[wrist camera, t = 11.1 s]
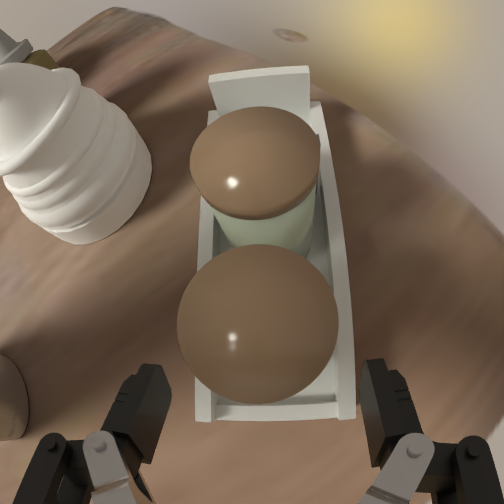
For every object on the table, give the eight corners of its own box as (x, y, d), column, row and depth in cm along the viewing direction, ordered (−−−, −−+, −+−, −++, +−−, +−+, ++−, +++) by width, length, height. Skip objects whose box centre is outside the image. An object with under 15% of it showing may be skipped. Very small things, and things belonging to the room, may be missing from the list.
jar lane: (347, 411, 19) (370, 431, 12) (209, 414, 20) (171, 433, 13) (319, 125, 27) (320, 65, 21) (216, 133, 28) (196, 77, 22)
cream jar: (219, 368, 20) (155, 367, 11) (248, 288, 22) (210, 227, 12) (302, 396, 19) (307, 425, 9) (330, 313, 20) (357, 268, 11)
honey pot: (109, 265, 25) (-58, 159, 8) (30, 221, 28) (-88, 137, 11) (176, 144, 28) (97, -17, 11) (88, 124, 31) (7, 15, 14)
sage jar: (220, 264, 23) (168, 192, 13) (247, 195, 24) (219, 100, 15) (298, 288, 21) (299, 225, 12) (321, 214, 23) (332, 118, 14)
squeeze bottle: (113, 112, 32) (38, -6, 16) (74, 166, 29) (-25, 46, 13) (74, 115, 34) (6, 19, 18) (39, 163, 31) (-45, 67, 16)
